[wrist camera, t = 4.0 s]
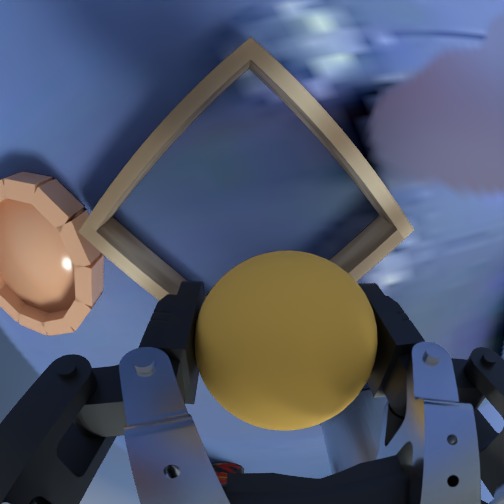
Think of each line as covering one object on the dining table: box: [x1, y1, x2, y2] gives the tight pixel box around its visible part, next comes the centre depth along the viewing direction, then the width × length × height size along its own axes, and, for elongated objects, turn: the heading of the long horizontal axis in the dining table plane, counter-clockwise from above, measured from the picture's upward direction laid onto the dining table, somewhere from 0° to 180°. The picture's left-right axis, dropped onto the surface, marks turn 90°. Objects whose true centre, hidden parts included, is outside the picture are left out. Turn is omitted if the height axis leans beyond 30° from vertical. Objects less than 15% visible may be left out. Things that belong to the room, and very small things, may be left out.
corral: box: [79, 37, 414, 301], centre depth 19 cm, size 16×16×3 cm
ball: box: [194, 250, 378, 430], centre depth 9 cm, size 6×6×6 cm
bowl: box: [0, 172, 104, 336], centre depth 20 cm, size 14×14×2 cm
